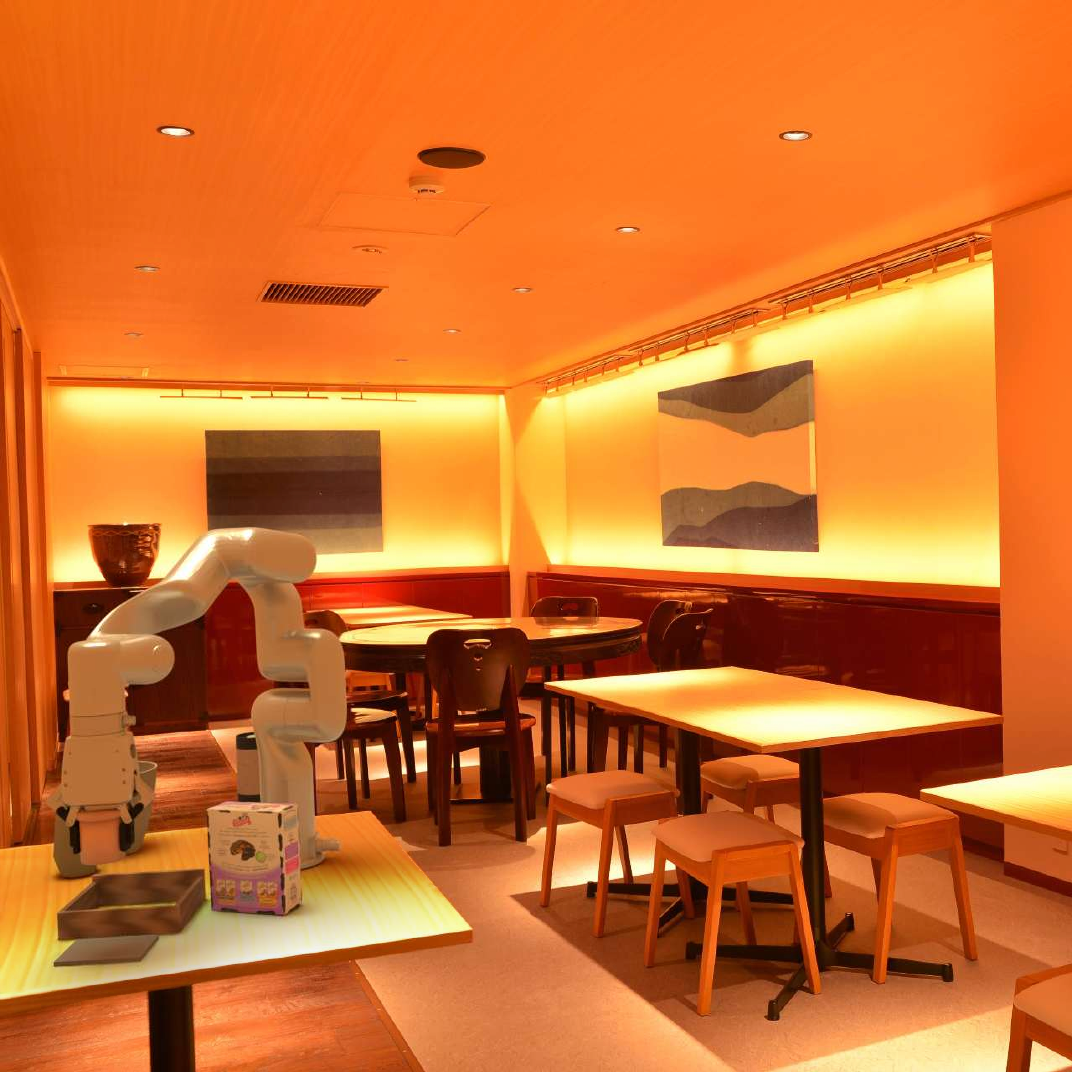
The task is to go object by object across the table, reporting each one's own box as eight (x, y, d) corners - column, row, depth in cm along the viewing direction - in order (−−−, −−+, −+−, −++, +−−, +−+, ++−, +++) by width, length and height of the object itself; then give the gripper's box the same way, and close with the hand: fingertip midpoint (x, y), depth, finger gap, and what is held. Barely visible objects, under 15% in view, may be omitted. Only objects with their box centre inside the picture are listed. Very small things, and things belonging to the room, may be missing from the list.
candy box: (304, 904, 180) (299, 802, 180) (284, 917, 174) (279, 811, 174) (230, 899, 184) (226, 799, 184) (209, 910, 179) (204, 807, 179)
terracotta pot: (134, 851, 165) (132, 802, 166) (119, 864, 159) (117, 813, 159) (87, 853, 165) (85, 804, 165) (70, 866, 158) (68, 816, 158)
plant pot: (78, 847, 221) (75, 766, 221) (158, 837, 226) (154, 758, 227) (78, 867, 207) (74, 780, 207) (163, 855, 213) (159, 771, 213)
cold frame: (205, 898, 185) (204, 868, 185) (179, 932, 169) (178, 899, 169) (95, 905, 184) (93, 874, 184) (58, 939, 168) (56, 906, 168)
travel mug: (242, 829, 229) (238, 732, 229) (280, 827, 230) (276, 730, 230) (236, 839, 222) (231, 738, 222) (275, 837, 222) (271, 736, 222)
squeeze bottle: (110, 866, 206) (106, 769, 206) (88, 880, 198) (84, 778, 198) (68, 867, 207) (64, 770, 207) (44, 881, 199) (40, 779, 199)
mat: (158, 938, 167) (158, 934, 167) (140, 961, 158) (140, 957, 158) (76, 943, 166) (76, 939, 166) (53, 966, 157) (53, 962, 157)
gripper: (166, 718, 166) (170, 840, 166) (47, 724, 165) (52, 846, 165) (151, 727, 159) (155, 854, 159) (26, 732, 158) (31, 860, 158)
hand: (102, 849), depth 162 cm, fingers closed on terracotta pot, 6 cm apart
